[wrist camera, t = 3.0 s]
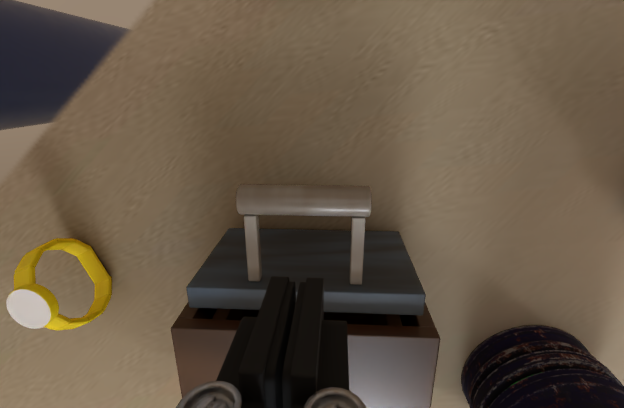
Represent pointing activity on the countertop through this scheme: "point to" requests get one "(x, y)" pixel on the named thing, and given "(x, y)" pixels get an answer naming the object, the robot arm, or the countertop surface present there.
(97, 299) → the watch
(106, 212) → the countertop surface
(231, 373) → the robot arm
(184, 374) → the cabinet
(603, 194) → the countertop surface
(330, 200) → the drawer
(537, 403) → the storage jar
